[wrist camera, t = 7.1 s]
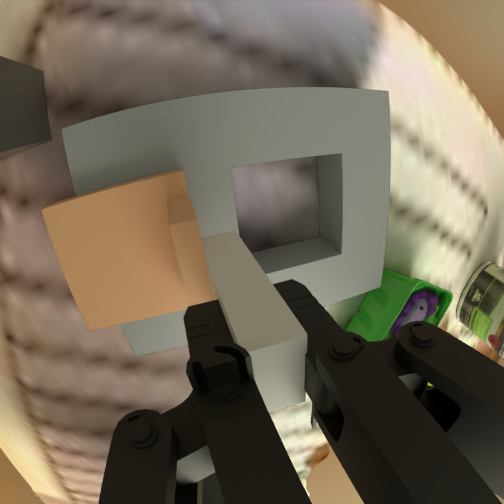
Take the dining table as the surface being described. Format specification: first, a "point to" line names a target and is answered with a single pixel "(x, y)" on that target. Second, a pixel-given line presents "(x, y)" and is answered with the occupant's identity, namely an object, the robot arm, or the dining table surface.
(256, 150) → the socket
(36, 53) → the dining table surface
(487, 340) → the coffee can
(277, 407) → the robot arm
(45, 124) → the plug
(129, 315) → the tan plate with tab
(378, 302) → the fruit basket
